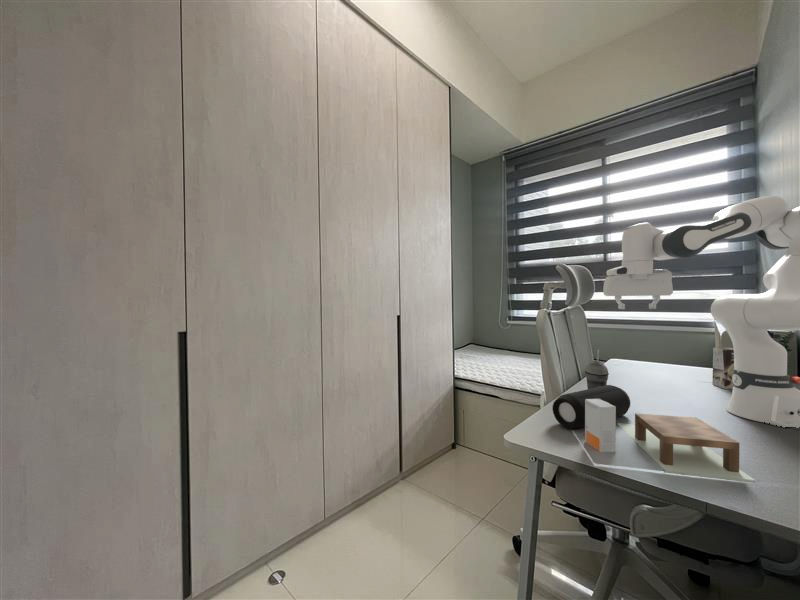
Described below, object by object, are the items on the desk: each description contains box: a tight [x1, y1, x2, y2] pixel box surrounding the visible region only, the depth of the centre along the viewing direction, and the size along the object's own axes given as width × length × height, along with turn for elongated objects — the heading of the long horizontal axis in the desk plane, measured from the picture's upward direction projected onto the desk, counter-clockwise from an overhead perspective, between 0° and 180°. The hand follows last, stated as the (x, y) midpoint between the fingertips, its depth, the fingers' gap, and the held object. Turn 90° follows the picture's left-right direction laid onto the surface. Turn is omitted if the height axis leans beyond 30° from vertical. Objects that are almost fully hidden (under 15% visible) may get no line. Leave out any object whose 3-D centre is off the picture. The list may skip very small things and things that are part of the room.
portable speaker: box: [552, 384, 631, 430], centre depth 98 cm, size 26×10×10 cm, turn 115°
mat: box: [616, 422, 756, 483], centre depth 80 cm, size 16×26×1 cm, turn 165°
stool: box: [634, 412, 740, 472], centre depth 77 cm, size 14×7×14 cm
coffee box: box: [712, 346, 734, 390], centre depth 129 cm, size 9×6×16 cm
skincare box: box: [584, 399, 617, 453], centre depth 81 cm, size 6×4×12 cm
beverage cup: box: [584, 349, 610, 389], centre depth 111 cm, size 7×7×20 cm
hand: (636, 308), depth 111 cm, fingers open, 8 cm apart
